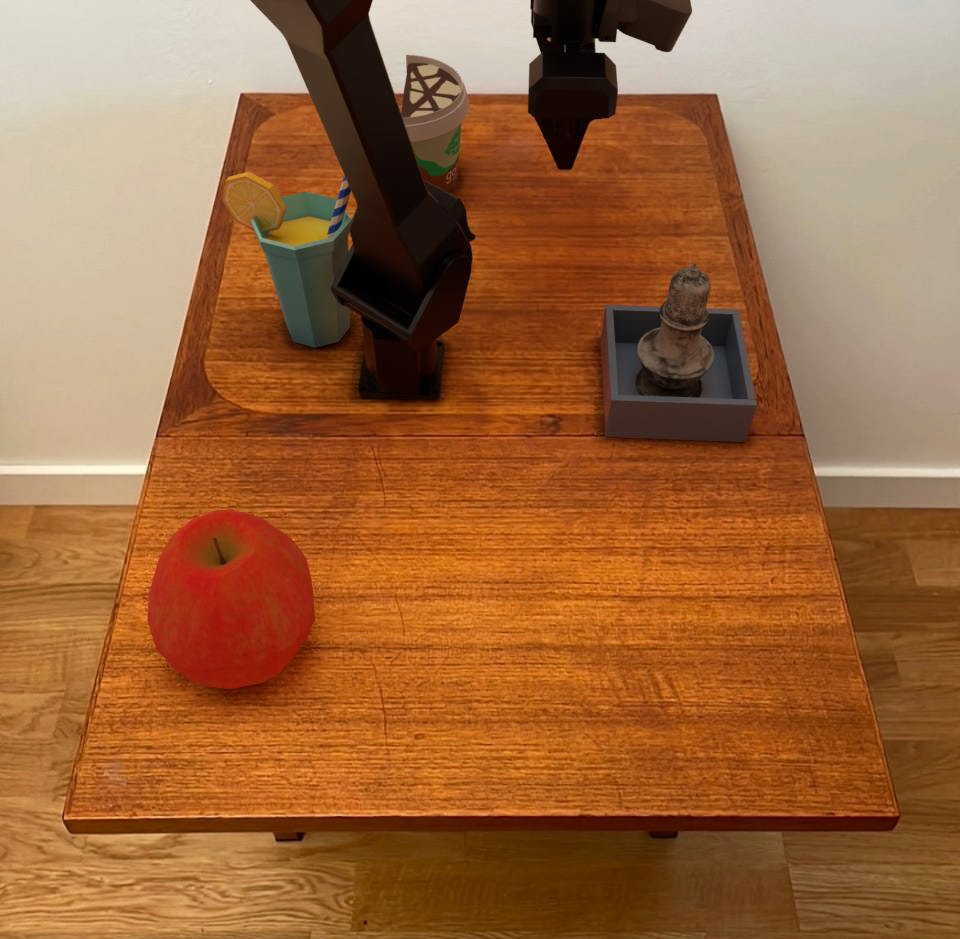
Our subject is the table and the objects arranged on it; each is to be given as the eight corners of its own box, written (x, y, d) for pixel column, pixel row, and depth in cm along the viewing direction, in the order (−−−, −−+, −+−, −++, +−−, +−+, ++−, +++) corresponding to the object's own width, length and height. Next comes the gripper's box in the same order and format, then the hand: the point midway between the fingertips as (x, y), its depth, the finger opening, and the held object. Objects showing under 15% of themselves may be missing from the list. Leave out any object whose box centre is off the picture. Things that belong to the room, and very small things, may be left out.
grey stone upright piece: (701, 417, 77) (733, 296, 68) (626, 403, 78) (647, 282, 68) (709, 366, 80) (740, 245, 71) (637, 353, 81) (659, 232, 72)
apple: (350, 659, 64) (333, 565, 56) (198, 737, 60) (156, 649, 52) (283, 547, 69) (259, 448, 61) (140, 613, 66) (95, 516, 58)
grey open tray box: (745, 442, 76) (757, 405, 73) (605, 437, 76) (611, 399, 73) (728, 347, 83) (739, 309, 80) (600, 342, 83) (605, 304, 80)
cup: (414, 297, 86) (402, 139, 75) (409, 356, 81) (397, 195, 70) (253, 298, 86) (218, 140, 75) (239, 357, 81) (199, 197, 70)
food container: (467, 219, 94) (467, 122, 86) (402, 218, 94) (396, 121, 86) (471, 147, 102) (471, 52, 94) (411, 146, 102) (406, 51, 94)
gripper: (707, 2, 63) (672, 207, 75) (682, -118, 75) (655, 76, 87) (531, 0, 63) (524, 204, 76) (534, -119, 75) (528, 74, 87)
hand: (564, 135), depth 81 cm, fingers open, 9 cm apart
